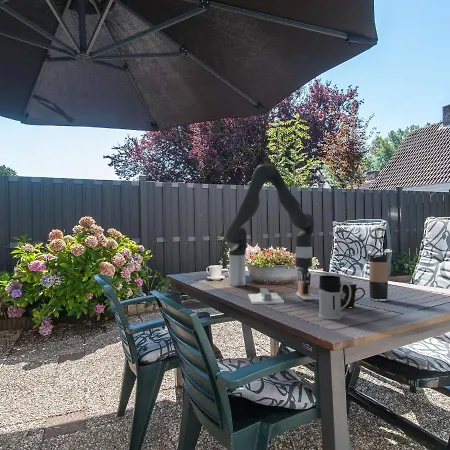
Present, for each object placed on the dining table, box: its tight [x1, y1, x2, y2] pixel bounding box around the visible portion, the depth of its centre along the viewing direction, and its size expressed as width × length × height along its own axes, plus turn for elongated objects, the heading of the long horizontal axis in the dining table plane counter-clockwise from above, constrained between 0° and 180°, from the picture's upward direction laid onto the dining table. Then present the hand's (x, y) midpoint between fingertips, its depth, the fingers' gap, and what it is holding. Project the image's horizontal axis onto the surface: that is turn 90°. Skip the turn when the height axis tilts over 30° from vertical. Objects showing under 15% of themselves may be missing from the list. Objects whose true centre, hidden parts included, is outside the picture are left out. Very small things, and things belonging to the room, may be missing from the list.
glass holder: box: [317, 274, 351, 320], centre depth 124 cm, size 9×14×15 cm, turn 28°
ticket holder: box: [247, 287, 285, 305], centre depth 155 cm, size 16×14×4 cm
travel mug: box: [368, 254, 389, 300], centre depth 152 cm, size 8×8×20 cm
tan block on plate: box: [296, 280, 313, 300], centre depth 156 cm, size 12×4×7 cm, turn 2°
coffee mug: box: [340, 280, 366, 309], centre depth 140 cm, size 12×9×10 cm
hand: (303, 292), depth 156 cm, fingers closed on tan block on plate, 5 cm apart
